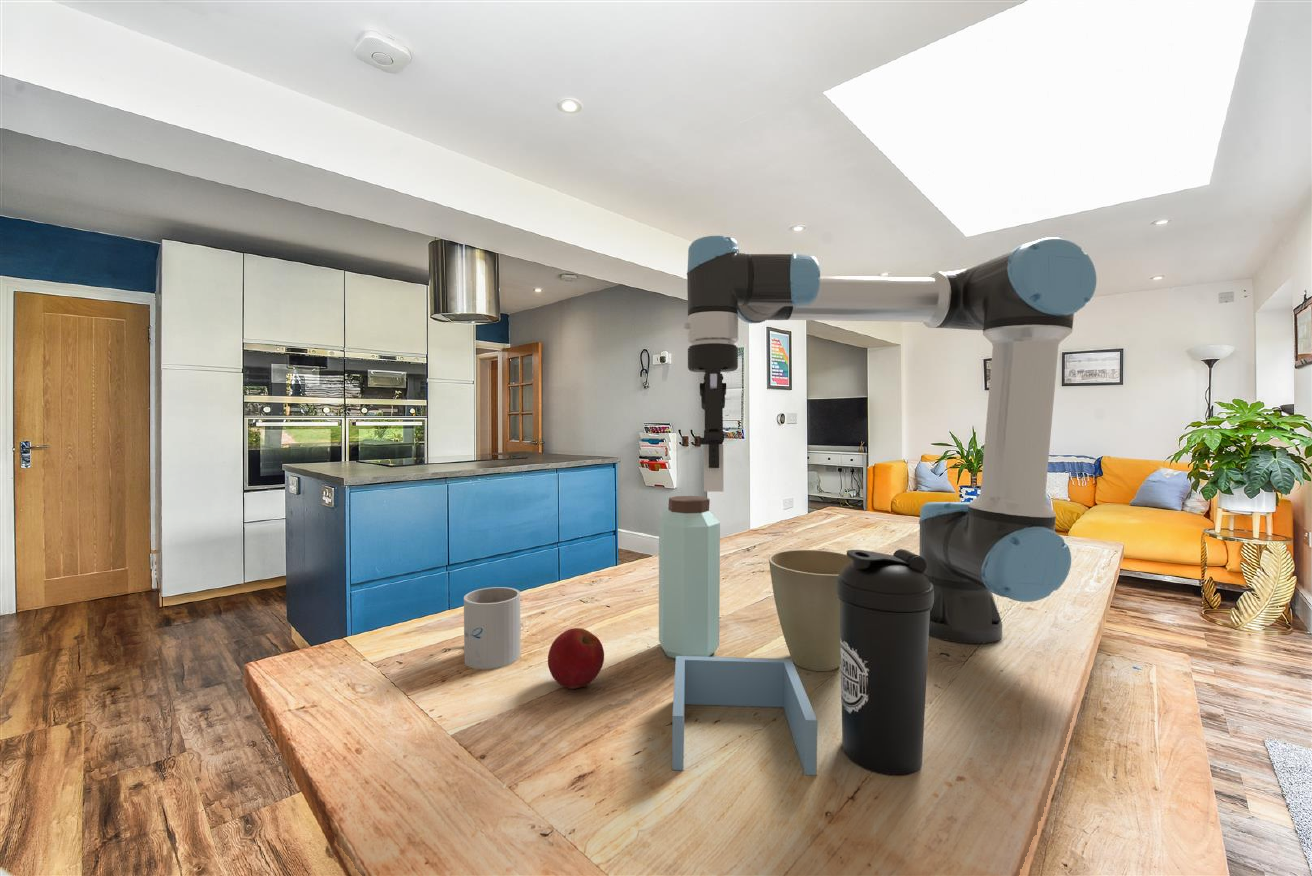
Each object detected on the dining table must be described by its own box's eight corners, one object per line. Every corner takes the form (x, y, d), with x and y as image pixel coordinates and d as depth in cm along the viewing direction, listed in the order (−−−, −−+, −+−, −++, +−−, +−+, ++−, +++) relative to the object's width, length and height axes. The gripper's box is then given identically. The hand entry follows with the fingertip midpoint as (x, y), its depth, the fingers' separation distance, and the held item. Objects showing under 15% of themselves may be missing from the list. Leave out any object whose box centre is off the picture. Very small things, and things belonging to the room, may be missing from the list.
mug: (526, 662, 88) (526, 599, 88) (469, 673, 85) (468, 607, 84) (508, 635, 99) (508, 578, 99) (457, 644, 95) (456, 585, 95)
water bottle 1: (716, 666, 87) (717, 504, 86) (652, 660, 89) (652, 502, 88) (721, 641, 97) (722, 495, 96) (664, 636, 99) (664, 493, 98)
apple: (559, 704, 76) (558, 644, 75) (541, 679, 83) (541, 625, 83) (611, 691, 79) (611, 634, 79) (590, 668, 86) (590, 616, 86)
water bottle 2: (821, 730, 69) (823, 543, 69) (901, 726, 70) (904, 542, 69) (857, 783, 59) (860, 565, 58) (950, 778, 60) (955, 563, 59)
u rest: (790, 703, 76) (791, 658, 76) (816, 775, 61) (817, 720, 60) (675, 699, 77) (675, 655, 77) (672, 770, 62) (672, 715, 61)
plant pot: (760, 674, 84) (761, 568, 84) (775, 638, 98) (776, 546, 98) (867, 691, 79) (869, 578, 79) (867, 650, 93) (868, 554, 93)
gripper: (689, 354, 98) (690, 476, 99) (684, 333, 73) (685, 496, 74) (733, 353, 97) (733, 476, 98) (743, 331, 73) (743, 497, 73)
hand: (713, 485), depth 86 cm, fingers open, 13 cm apart
